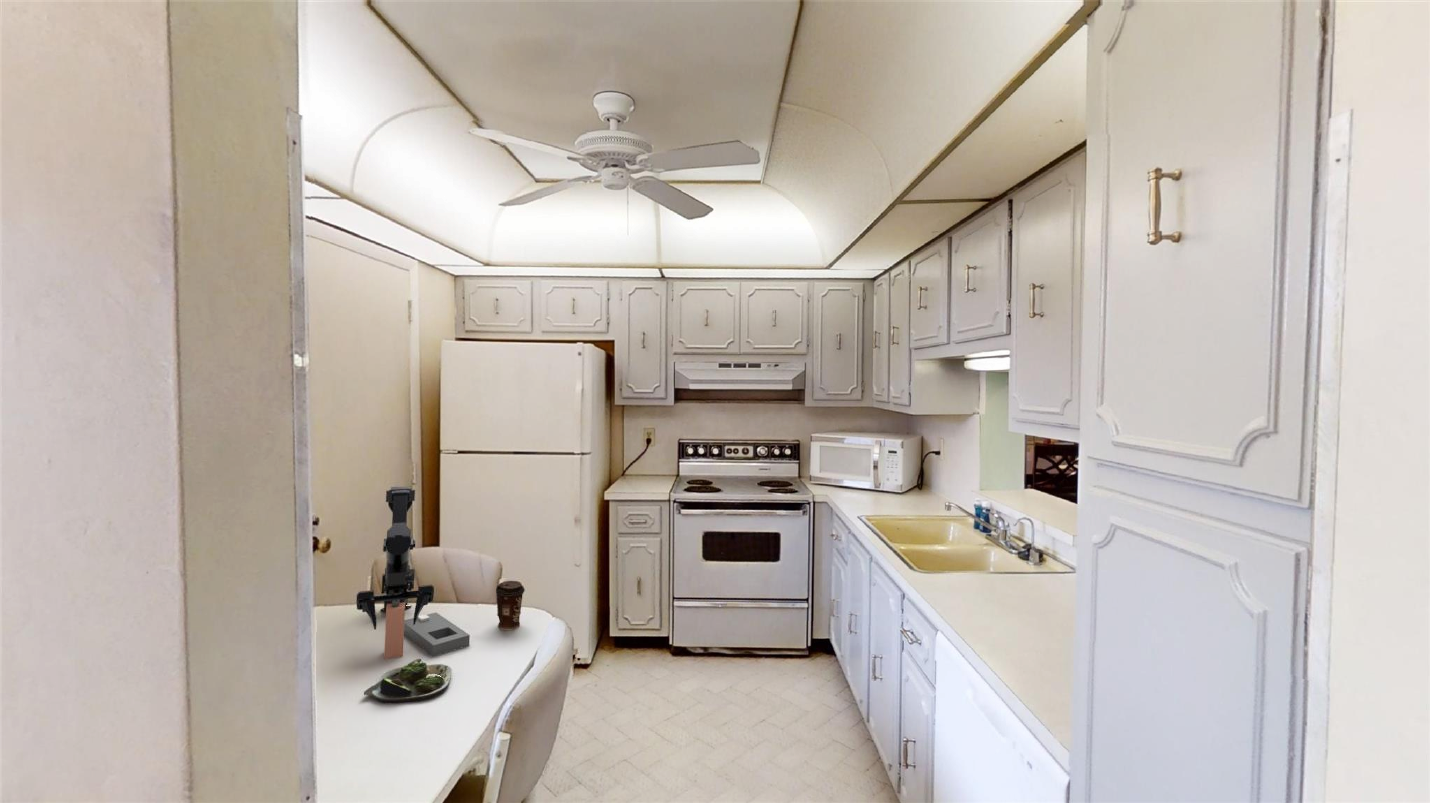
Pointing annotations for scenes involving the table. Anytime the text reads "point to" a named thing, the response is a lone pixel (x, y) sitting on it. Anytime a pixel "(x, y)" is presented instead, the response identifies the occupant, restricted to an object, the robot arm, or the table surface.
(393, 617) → the pink capped bottle
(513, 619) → the coffee cup
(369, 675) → the table surface
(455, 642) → the grey slotted holder
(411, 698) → the salad plate
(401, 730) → the table surface
